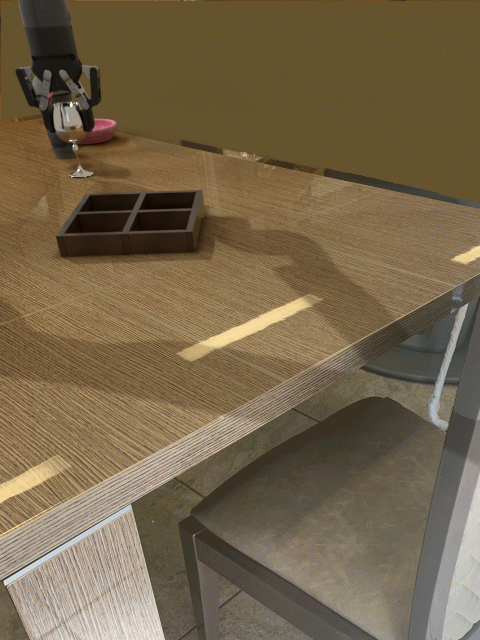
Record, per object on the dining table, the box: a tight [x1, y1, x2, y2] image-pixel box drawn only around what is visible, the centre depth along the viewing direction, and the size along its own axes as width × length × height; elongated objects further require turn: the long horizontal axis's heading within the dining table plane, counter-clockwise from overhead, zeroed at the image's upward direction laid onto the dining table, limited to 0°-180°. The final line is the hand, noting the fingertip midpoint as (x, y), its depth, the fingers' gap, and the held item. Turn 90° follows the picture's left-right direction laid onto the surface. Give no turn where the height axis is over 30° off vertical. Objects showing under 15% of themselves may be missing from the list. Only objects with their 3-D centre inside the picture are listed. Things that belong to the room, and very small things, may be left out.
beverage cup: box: [32, 74, 78, 159], centre depth 125 cm, size 7×7×20 cm
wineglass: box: [52, 101, 94, 178], centre depth 117 cm, size 6×6×12 cm
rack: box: [55, 189, 206, 258], centre depth 93 cm, size 18×18×4 cm
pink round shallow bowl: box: [77, 118, 118, 145], centre depth 141 cm, size 12×12×3 cm
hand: (71, 131), depth 116 cm, fingers closed on wineglass, 6 cm apart
